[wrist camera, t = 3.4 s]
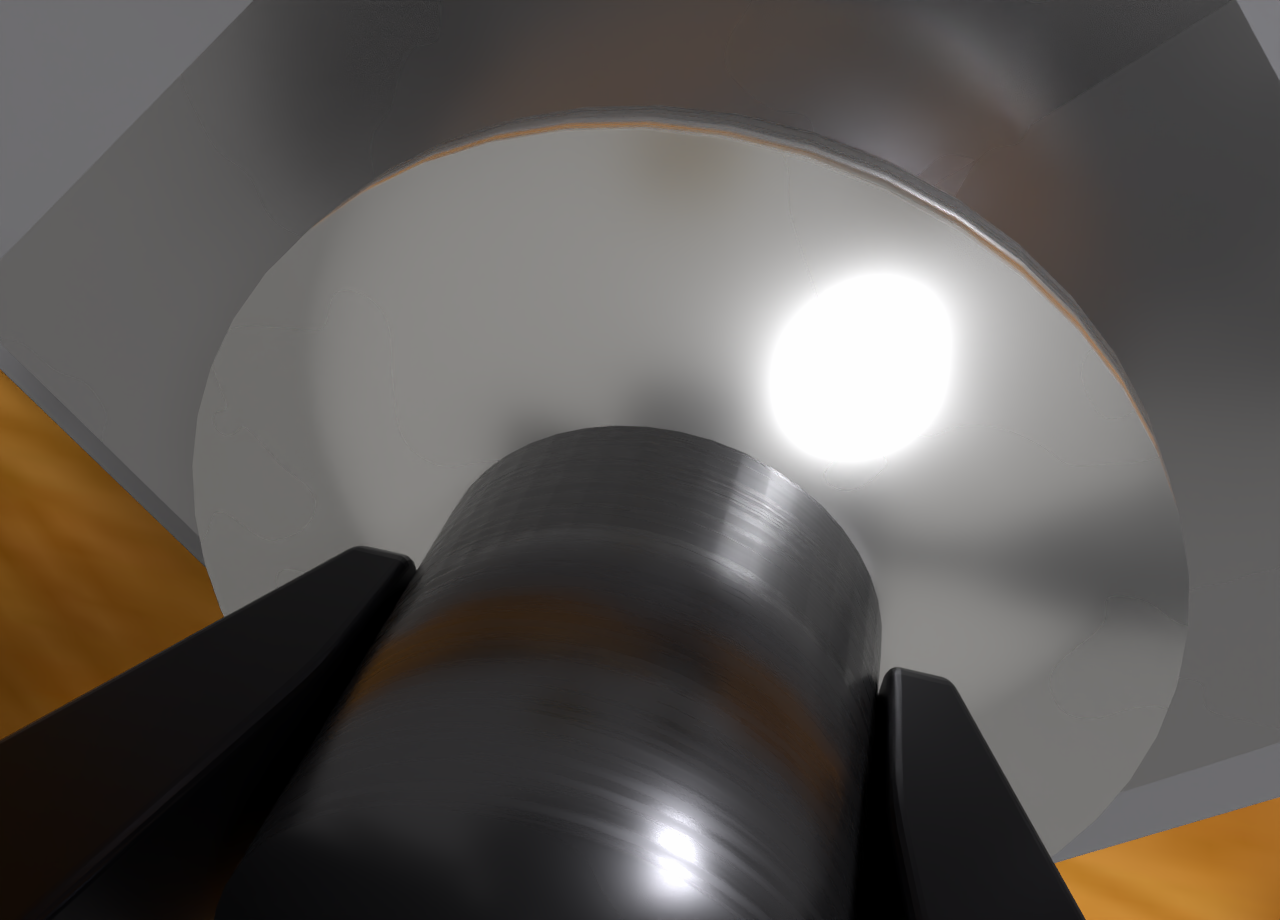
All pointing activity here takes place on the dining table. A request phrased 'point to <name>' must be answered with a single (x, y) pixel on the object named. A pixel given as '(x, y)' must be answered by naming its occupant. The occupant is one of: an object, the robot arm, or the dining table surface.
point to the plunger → (677, 520)
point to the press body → (773, 91)
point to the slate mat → (148, 64)
